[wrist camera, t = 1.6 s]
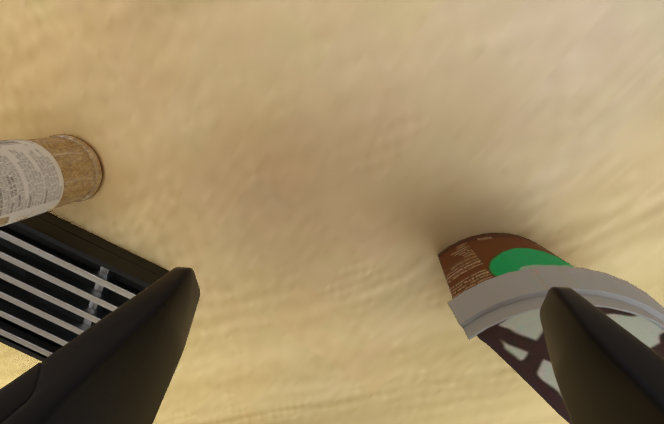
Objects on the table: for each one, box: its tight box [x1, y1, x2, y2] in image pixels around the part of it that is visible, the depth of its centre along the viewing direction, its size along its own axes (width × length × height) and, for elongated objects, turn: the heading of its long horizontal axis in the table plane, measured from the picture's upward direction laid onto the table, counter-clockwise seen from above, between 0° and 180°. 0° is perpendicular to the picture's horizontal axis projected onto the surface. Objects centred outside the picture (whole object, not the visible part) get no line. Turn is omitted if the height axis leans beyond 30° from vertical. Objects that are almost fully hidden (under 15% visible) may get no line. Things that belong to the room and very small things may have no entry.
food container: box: [438, 233, 664, 424], centre depth 19 cm, size 12×6×10 cm, turn 47°
